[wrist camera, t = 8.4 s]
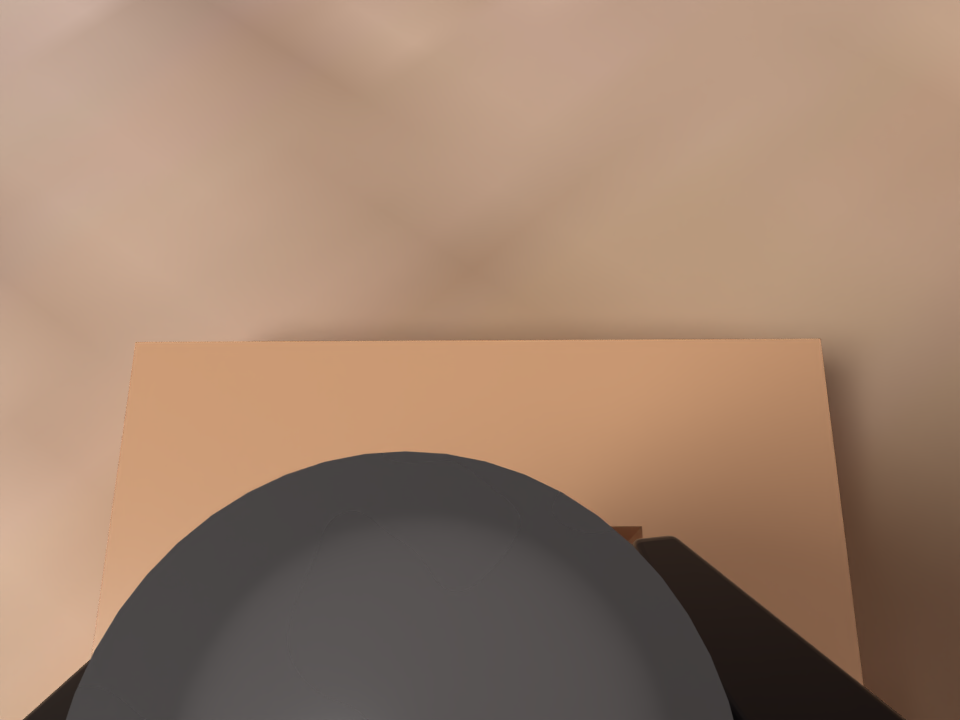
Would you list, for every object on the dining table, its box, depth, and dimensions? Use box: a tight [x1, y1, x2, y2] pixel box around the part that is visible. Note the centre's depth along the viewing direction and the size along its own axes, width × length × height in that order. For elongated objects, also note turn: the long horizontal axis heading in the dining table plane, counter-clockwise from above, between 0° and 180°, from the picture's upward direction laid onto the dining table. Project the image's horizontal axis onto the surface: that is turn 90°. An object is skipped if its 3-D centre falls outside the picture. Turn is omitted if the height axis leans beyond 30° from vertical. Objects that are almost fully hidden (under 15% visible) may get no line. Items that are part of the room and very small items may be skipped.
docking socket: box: [91, 339, 864, 686], centre depth 16 cm, size 13×13×3 cm
